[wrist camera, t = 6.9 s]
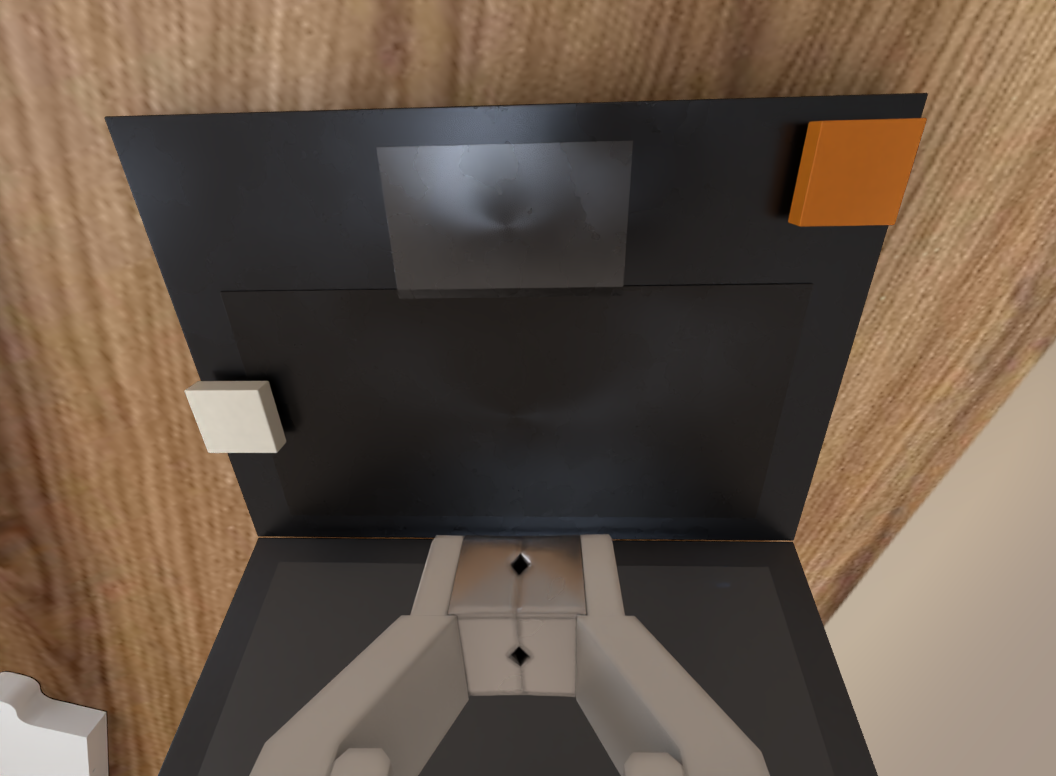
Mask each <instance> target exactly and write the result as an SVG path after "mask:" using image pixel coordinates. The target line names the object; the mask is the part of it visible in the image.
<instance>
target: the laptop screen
mask: <svg viewBox="0 0 1056 776" xmlns="http://www.w3.org/2000/svg"><path fill="white" fill-rule="evenodd" d="M433 540H434V539H350V538H258V541H257V543H256V545H255V548H254V550H253V552H252V555H251V557H250V560H249V562H248V564H247V567H246V569H245V571H244V574H243V576H242V578H241V581H240V583H239V586H238V588H237V590H236V593H235V595H234V597H233V600H232V602H231V604H230V607H229V609H228V611H227V614H226V616H225V619H224V621H223V623H222V626H221V628H220V630H219V633H218V635H217V637H216V640H215V642H214V645H213V647H212V649H211V652H210V654H209V656H208V659H207V661H206V663H205V666H204V668H203V670H202V673H201V675H200V678H199V680H198V682H197V685H196V687H195V689H194V692H193V694H192V696H191V699H190V701H189V703H188V706H187V708H186V711H185V713H184V715H183V718H182V720H181V722H180V725H179V727H178V729H177V732H176V734H175V737H174V739H173V741H172V744H171V746H170V748H169V751H168V753H167V755H166V758H165V760H164V762H163V765H162V767H161V770H160V772H159V774H158V776H249V775H250V773H251V771H252V769H253V767H254V765H255V763H256V761H257V758H258V756H259V754H260V752H261V750H262V748H263V746H264V744H265V742H266V741H268V740H269V739H270V738H271V737H272V736H273V735H274V734H275V733H276V732H277V731H278V730H279V729H280V728H281V727H282V726H284V725H285V724H286V723H287V722H288V721H289V720H290V719H291V718H292V717H293V716H294V715H295V714H296V713H297V712H298V711H300V710H301V709H302V708H303V707H304V706H305V705H306V704H307V703H308V702H309V701H310V700H311V699H312V698H313V697H314V696H316V695H317V694H318V693H319V692H320V691H321V690H322V689H323V688H324V687H325V686H326V685H327V684H328V683H329V682H331V681H332V680H333V679H334V678H335V677H336V676H337V675H338V674H339V673H340V672H341V671H342V670H343V669H344V668H345V667H347V666H348V665H349V664H350V663H351V662H352V661H353V660H354V659H355V658H356V657H357V656H358V655H359V654H360V653H361V652H363V651H364V650H365V649H366V648H367V647H368V646H369V645H370V644H371V643H372V642H373V641H374V640H375V639H376V638H377V637H379V636H380V635H381V634H382V633H383V632H384V631H385V630H386V629H387V628H388V627H389V626H390V625H391V624H392V623H394V622H395V621H396V620H397V619H398V618H399V617H400V616H401V615H410V614H411V611H412V608H413V604H414V601H415V597H416V594H417V591H418V587H419V584H420V580H421V577H422V574H423V570H424V567H425V563H426V560H427V557H428V553H429V550H430V546H431V543H432V541H433ZM612 543H613V549H614V554H615V560H616V566H617V572H618V578H619V584H620V589H621V595H622V601H623V607H624V613H625V616H635V617H636V618H637V619H638V620H639V621H640V622H641V623H642V624H643V625H644V626H645V628H646V629H647V630H648V631H649V632H650V633H651V634H652V635H653V636H654V637H655V638H656V639H657V640H658V641H659V643H660V644H661V645H662V646H663V647H664V648H665V649H666V650H667V651H668V652H669V653H670V654H671V655H672V656H673V658H674V659H675V660H676V661H677V662H678V663H679V664H680V665H681V666H682V667H683V668H684V669H685V670H686V671H687V673H688V674H689V675H690V676H691V677H692V678H693V679H694V680H695V681H696V682H697V683H698V684H699V685H700V686H701V688H702V689H703V690H704V691H705V692H706V693H707V694H708V695H709V696H710V697H711V698H712V699H713V700H714V701H715V703H716V704H717V705H718V706H719V707H720V708H721V709H722V710H723V711H724V712H725V713H726V714H727V715H728V716H729V718H730V719H731V720H732V721H733V722H734V723H735V724H736V725H737V726H738V727H739V728H740V729H741V730H742V731H743V733H744V734H745V735H746V736H747V737H748V738H749V739H750V740H751V741H752V742H753V743H754V744H755V745H756V746H757V748H758V749H759V750H760V751H761V752H762V755H763V758H764V760H765V763H766V766H767V769H768V772H769V774H770V776H878V775H877V772H876V769H875V766H874V764H873V761H872V758H871V755H870V753H869V750H868V747H867V744H866V742H865V739H864V736H863V734H862V731H861V728H860V725H859V722H858V720H857V717H856V714H855V711H854V709H853V706H852V704H851V700H850V698H849V695H848V692H847V689H846V687H845V684H844V681H843V679H842V676H841V673H840V670H839V667H838V665H837V662H836V659H835V656H834V654H833V651H832V648H831V645H830V643H829V640H828V637H827V635H826V632H825V629H824V626H823V623H822V621H821V618H820V615H819V612H818V610H817V607H816V604H815V601H814V599H813V596H812V593H811V590H810V588H809V585H808V582H807V579H806V577H805V574H804V571H803V568H802V566H801V563H800V560H799V557H798V555H797V552H796V549H795V546H794V544H793V542H730V541H612ZM468 698H469V700H468V702H467V703H466V705H465V706H464V708H463V709H462V711H461V712H460V714H459V715H458V717H457V718H456V720H455V721H454V723H453V724H452V726H451V727H450V729H449V730H448V732H447V733H446V735H445V736H444V738H443V739H442V740H441V742H440V743H439V745H438V746H437V748H436V749H435V751H434V752H433V754H432V755H431V757H430V758H429V760H428V761H427V763H426V764H425V766H424V767H423V769H422V770H421V772H420V773H419V775H418V776H621V775H620V774H619V772H618V770H617V768H616V767H615V765H614V763H613V762H612V760H611V758H610V757H609V755H608V753H607V751H606V750H605V748H604V746H603V745H602V743H601V741H600V739H599V738H598V736H597V734H596V733H595V731H594V729H593V728H592V726H591V724H590V722H589V721H588V719H587V717H586V716H585V714H584V712H583V711H582V709H581V707H580V705H579V704H578V702H577V700H576V697H564V696H538V695H490V696H468Z"/></svg>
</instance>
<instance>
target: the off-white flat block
mask: <svg viewBox="0 0 1056 776" xmlns="http://www.w3.org/2000/svg"><path fill="white" fill-rule="evenodd" d="M185 393H186V396H187V399H188V401H189V404H190V406H191V409H192V412H193V414H194V417H195V419H196V422H197V424H198V427H199V430H200V432H201V435H202V437H203V440H204V442H205V445H206V448H207V450H208V452H209V453H277V452H278V451H279V450H280V449H281V448H282V446H283V445H284V444H285V443H286V438H285V435H284V431H283V428H282V425H281V421H280V418H279V414H278V411H277V408H276V404H275V401H274V398H273V394H272V391H271V387H270V384H269V381H198V382H196V383H195V384H193V385H192V386H190V387H189V388H188V389H186V390H185Z"/></svg>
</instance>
